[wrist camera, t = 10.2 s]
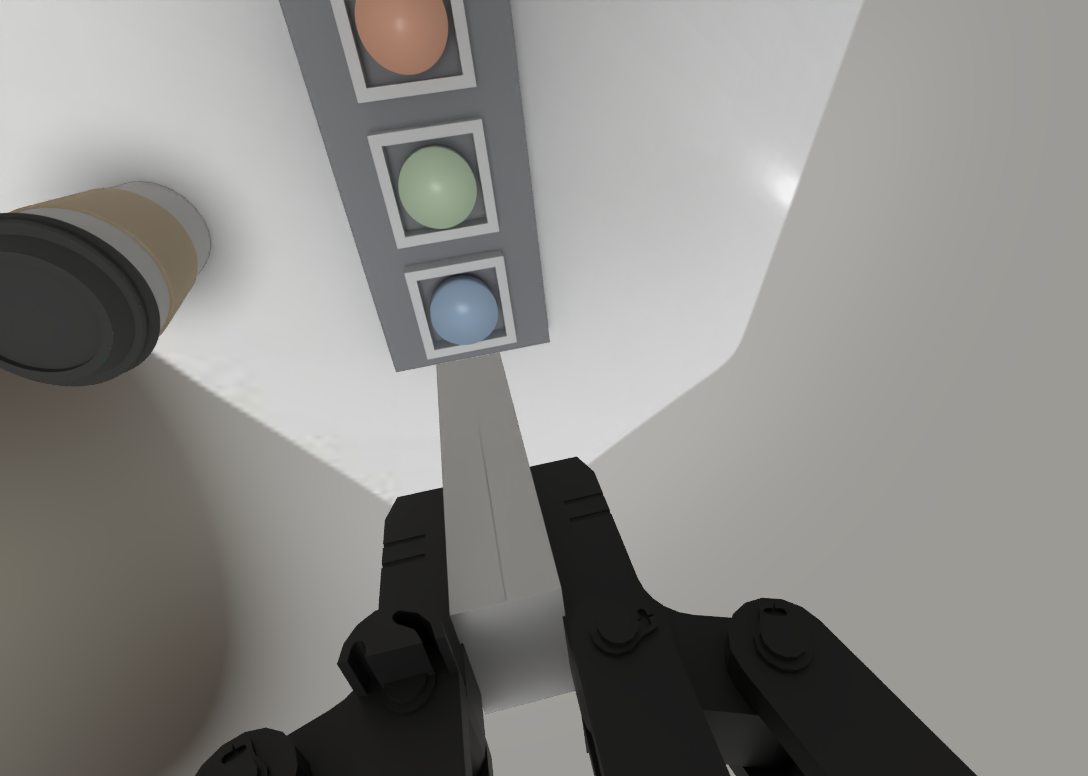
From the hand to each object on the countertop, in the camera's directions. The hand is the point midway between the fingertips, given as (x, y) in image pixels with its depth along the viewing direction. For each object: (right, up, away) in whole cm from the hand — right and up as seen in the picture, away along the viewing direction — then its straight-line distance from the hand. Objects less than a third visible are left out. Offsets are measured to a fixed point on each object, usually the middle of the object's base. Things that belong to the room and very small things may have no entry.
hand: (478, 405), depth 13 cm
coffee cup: (-26, +11, +24) cm, 37 cm away
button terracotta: (-7, +22, +18) cm, 29 cm away
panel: (-6, +16, +26) cm, 31 cm away
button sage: (-6, +14, +23) cm, 27 cm away
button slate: (-5, +7, +28) cm, 29 cm away
